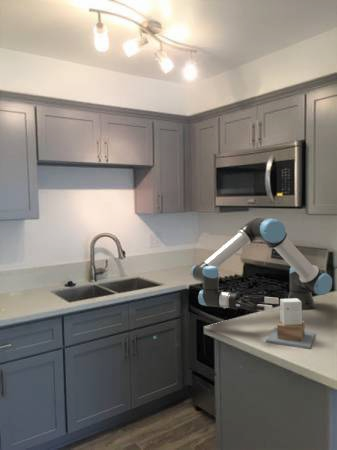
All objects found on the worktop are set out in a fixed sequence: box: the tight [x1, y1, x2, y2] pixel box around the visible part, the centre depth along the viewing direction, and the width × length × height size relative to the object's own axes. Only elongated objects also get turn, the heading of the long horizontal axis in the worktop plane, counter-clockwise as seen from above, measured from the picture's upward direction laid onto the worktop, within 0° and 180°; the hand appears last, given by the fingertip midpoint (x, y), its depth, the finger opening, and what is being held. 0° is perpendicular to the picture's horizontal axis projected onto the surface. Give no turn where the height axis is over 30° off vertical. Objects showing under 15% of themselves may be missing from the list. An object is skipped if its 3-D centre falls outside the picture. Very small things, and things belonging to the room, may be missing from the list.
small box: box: [279, 298, 303, 325], centre depth 168 cm, size 8×6×10 cm
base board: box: [265, 327, 316, 350], centre depth 169 cm, size 18×18×1 cm
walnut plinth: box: [276, 320, 306, 342], centre depth 169 cm, size 10×10×6 cm
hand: (275, 304), depth 171 cm, fingers open, 13 cm apart
